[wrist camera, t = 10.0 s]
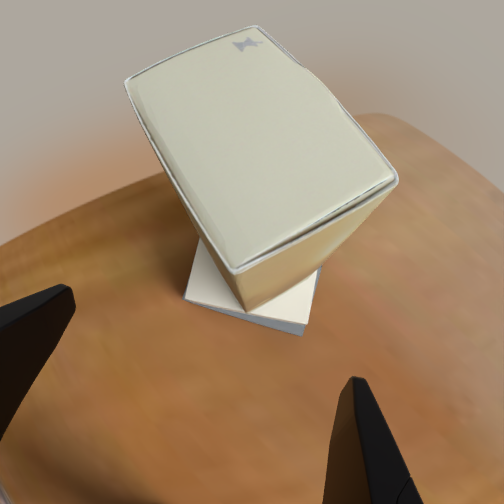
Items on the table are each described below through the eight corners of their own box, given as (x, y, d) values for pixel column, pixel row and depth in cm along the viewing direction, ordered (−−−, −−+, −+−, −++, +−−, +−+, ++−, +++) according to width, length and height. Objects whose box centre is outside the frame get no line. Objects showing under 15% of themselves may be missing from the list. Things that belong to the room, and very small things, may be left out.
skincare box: (193, 225, 19) (113, 73, 7) (256, 190, 19) (252, 16, 8) (248, 321, 17) (226, 284, 6) (315, 280, 18) (409, 175, 6)
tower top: (302, 325, 20) (307, 324, 17) (194, 302, 20) (184, 298, 18) (320, 220, 21) (327, 206, 19) (219, 201, 22) (213, 186, 20)
